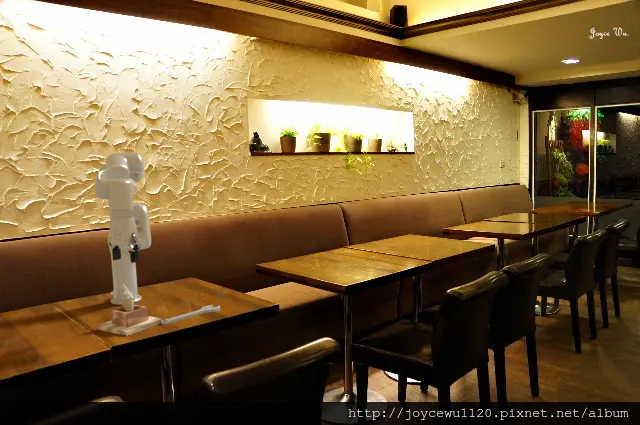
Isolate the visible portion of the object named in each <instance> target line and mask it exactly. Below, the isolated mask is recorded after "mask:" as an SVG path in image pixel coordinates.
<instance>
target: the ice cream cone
mask: <svg viewBox="0 0 640 425" xmlns="http://www.w3.org/2000/svg"><path fill="white" fill-rule="evenodd" d="M119 298H120V301H121V302H120V303H121V304H122V305H121V307H124V309H125V311H126V312H127V313H128V312H131V311H133V310H134V305H135V303H134V297H133V294H132V293H131V292H130V291H128V288H127V287H126V286H125V285H124V283H123V286H122V290H121V295H120V297H119Z"/></svg>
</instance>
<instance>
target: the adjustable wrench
mask: <svg viewBox="0 0 640 425" xmlns="http://www.w3.org/2000/svg"><path fill="white" fill-rule="evenodd" d="M220 311H221V305H218V306H214V305H213V304H211V305H210V304H209V305H206V306H202V307H201V308H200V309H198V310H195V311H191V312H187V313H184V314H180V315H176V316H173V317H170V318H169V317H168V318H166V319H163V320H162V321H161V323H160V324H161V325H163V326H164V325H169V324H172V323H176V322H179V321H183V320H185V319H189V318H192V317H196V316H200V315H202V314H203V315H204V314H210V313H211V314H212V313H216V312H220Z"/></svg>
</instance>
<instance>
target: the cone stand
mask: <svg viewBox="0 0 640 425" xmlns="http://www.w3.org/2000/svg"><path fill="white" fill-rule="evenodd" d="M110 314H111V320H109V321H106V322H104V323H100V324H97V330H99V331H103V332H108V333H112V334H115V335H116V334H117V335H120V334H121V336H124V335H125V336H124V337H128V335H129V336H131V335H134V334H136V333H140V332H141V331H144V330H147V329H150V328H152V327H155V326H157V325H160V324H161V321H162V320H164V319H163V318H160V317H156V316H155V317H154V316H151V315H149V308H148V306H144V305H139V304H134V310H133V311H131V312H128V313H127V312H126V311H125V309H124V307H123V306H120V307H118V308H115V309H112V310H110Z"/></svg>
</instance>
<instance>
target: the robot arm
mask: <svg viewBox="0 0 640 425" xmlns="http://www.w3.org/2000/svg"><path fill="white" fill-rule="evenodd" d="M144 164H145V162H144V161H143V157H142V156H141V154H140V153H137V152H113V153H111V154H109V155H108V156H107V157H106V158H105V164H104V165H101V166H100V167H99V171H98V173H97V174H95V175H96V176H95V178H94V193H95V196H96V197H97V199H99V200H104V201H105V200H108V211H109V212H108V214H109V232H108V235H107V243H108V248H109V252H110V258H111V272H112V283H113V284H112V285H113V290H112V291H111V292H110V295H112V296H113V298H111V299H110V303H111V304H112V305H117V306H118V305H121V306H122V304H121V303H120V302H121V301H120V298H119V297H120V295H121V290H122V286H123V283H124V285H125V286H126V287H127V288H128V291H130V292H131V293H132V294H133V297H134V304H135V303H138V302H140V301H141V300H142V299H143V298H142V297H143V296H142V295H140V294H139V292H138V282H137V280H138V278H137V265H136V263H137V262H139V261H140V255H139V251H141V250H145V249H148V248H150V247H151V245H152V235H151V234H152V233H151V225H150V224H151V223H150V215H149V210H148V207H147V205H146V204H144V203H134V202H133V199H134V196H135V195H136V193H137V190H138V189H137V184H136V183H140V182H141V181H142V179H143V177H144V176H143V175H144V167H145V165H144Z"/></svg>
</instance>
